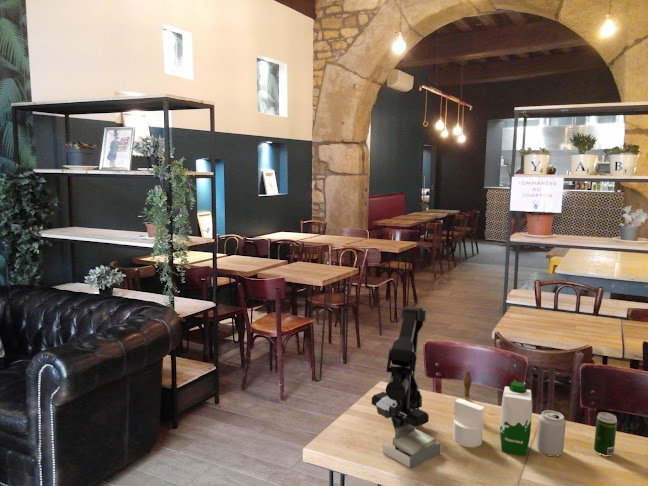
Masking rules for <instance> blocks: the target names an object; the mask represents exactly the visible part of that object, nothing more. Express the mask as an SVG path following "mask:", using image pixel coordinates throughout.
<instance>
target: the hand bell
mask: <svg viewBox="0 0 648 486" xmlns="http://www.w3.org/2000/svg"><path fill="white" fill-rule="evenodd" d="M463 386H464V396H463V398H462V399H463V400H466V401H468V402H471V403H474V400H473V399H471V398H470V391H471V390H470V389H471V386H472V376H471V372H470V371H469V370H466V371H465V374H464V376H463Z"/></svg>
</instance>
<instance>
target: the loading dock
mask: <svg viewBox="0 0 648 486" xmlns="http://www.w3.org/2000/svg"><path fill="white" fill-rule="evenodd" d="M381 451H382V453H384V454H385V455H387V456H389V457H390V458H392V459H394V460H396V461H398V462H399V463H401V464H402V465H405V466H406V467H407V468H409V469H412V470H413V469H415V468H417V467H419V466H420V465H422V464H424V463H426V462H428V461H430V460H431V459H433V458H435V457H437V456H438V455H440V454H441V442H440V441H435V443H434V444H432V445H430V446H428V447H426V448H425V449H423V450H421V451H419V452H417V453H415V454H413V455H411V456H410V455H409V454H408V453H407V452H405V451H403V450H401V449H398V450H397V449H396V448H395V447H393V446H391V445H389V444H387V443H385V442H384V443H383V444H382V450H381Z"/></svg>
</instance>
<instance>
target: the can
mask: <svg viewBox="0 0 648 486" xmlns="http://www.w3.org/2000/svg"><path fill="white" fill-rule="evenodd" d="M566 424H567V421H566V420H565V416H564V415H563V413H561V412H558V411H555V410H549V409H548V410H547V409H546V410H544V411H541V414H540V415H538V428H537V440H536V447H537V450H538V451H540V452H541V453H542V452H543V453H545V454H547V455H546V456H548V455H551V456H550V457H558V456H560V455H563V453H564V450H565V449H564V448H565V438H566V437H565V436H566V426H567V425H566ZM543 453H542V454H543ZM545 454H544V455H545ZM557 455H558V456H557Z"/></svg>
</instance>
